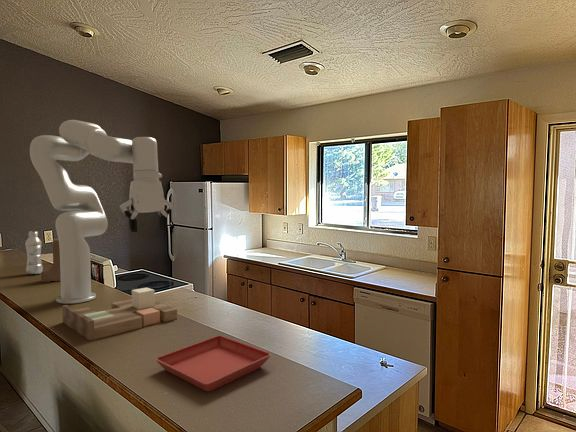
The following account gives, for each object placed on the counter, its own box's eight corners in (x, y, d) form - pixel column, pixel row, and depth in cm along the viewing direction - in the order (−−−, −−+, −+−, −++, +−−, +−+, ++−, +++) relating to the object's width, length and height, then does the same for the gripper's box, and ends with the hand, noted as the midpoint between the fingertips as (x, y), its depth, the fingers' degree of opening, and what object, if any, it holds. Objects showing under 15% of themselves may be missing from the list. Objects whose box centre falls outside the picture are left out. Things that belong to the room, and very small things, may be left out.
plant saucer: (206, 400, 74) (206, 383, 74) (153, 372, 85) (153, 357, 85) (272, 368, 87) (272, 353, 87) (219, 347, 99) (219, 334, 99)
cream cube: (131, 306, 124) (131, 290, 124) (147, 302, 127) (146, 287, 127) (139, 309, 120) (139, 292, 120) (154, 305, 124) (154, 290, 124)
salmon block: (136, 322, 118) (135, 311, 118) (152, 318, 121) (152, 307, 121) (143, 326, 114) (143, 314, 114) (160, 322, 118) (159, 311, 118)
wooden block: (41, 282, 169) (40, 240, 168) (42, 280, 173) (41, 239, 172) (65, 280, 173) (64, 239, 172) (66, 278, 177) (65, 238, 176)
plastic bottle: (37, 275, 184) (36, 232, 183) (22, 275, 184) (21, 232, 183) (46, 272, 190) (44, 231, 189) (32, 272, 190) (30, 231, 189)
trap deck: (62, 322, 117) (62, 305, 117) (144, 305, 135) (144, 290, 135) (89, 340, 103) (89, 321, 102) (177, 318, 121) (176, 302, 120)
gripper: (165, 178, 135) (168, 228, 136) (113, 177, 123) (116, 232, 124) (176, 176, 130) (179, 228, 130) (123, 175, 118) (126, 233, 118)
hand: (148, 230), depth 127 cm, fingers open, 9 cm apart
